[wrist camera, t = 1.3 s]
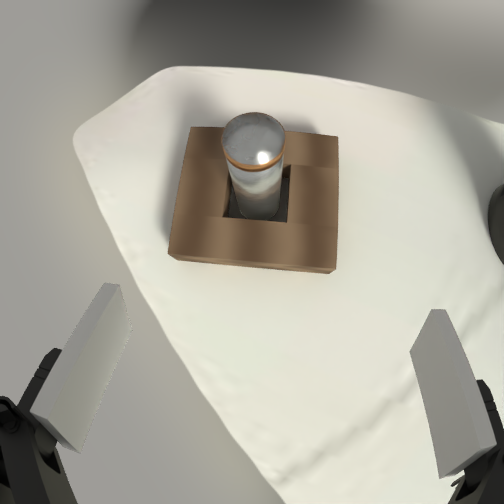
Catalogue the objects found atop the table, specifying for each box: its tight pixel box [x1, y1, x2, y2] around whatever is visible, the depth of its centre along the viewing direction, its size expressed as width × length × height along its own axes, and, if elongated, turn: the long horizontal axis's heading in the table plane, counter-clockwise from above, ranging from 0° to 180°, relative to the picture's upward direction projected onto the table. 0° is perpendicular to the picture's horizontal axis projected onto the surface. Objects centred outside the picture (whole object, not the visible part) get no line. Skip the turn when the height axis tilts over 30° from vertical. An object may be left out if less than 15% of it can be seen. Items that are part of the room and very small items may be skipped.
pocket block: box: [168, 127, 339, 274], centre depth 37 cm, size 18×16×4 cm
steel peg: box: [221, 112, 286, 221], centre depth 32 cm, size 5×5×15 cm
